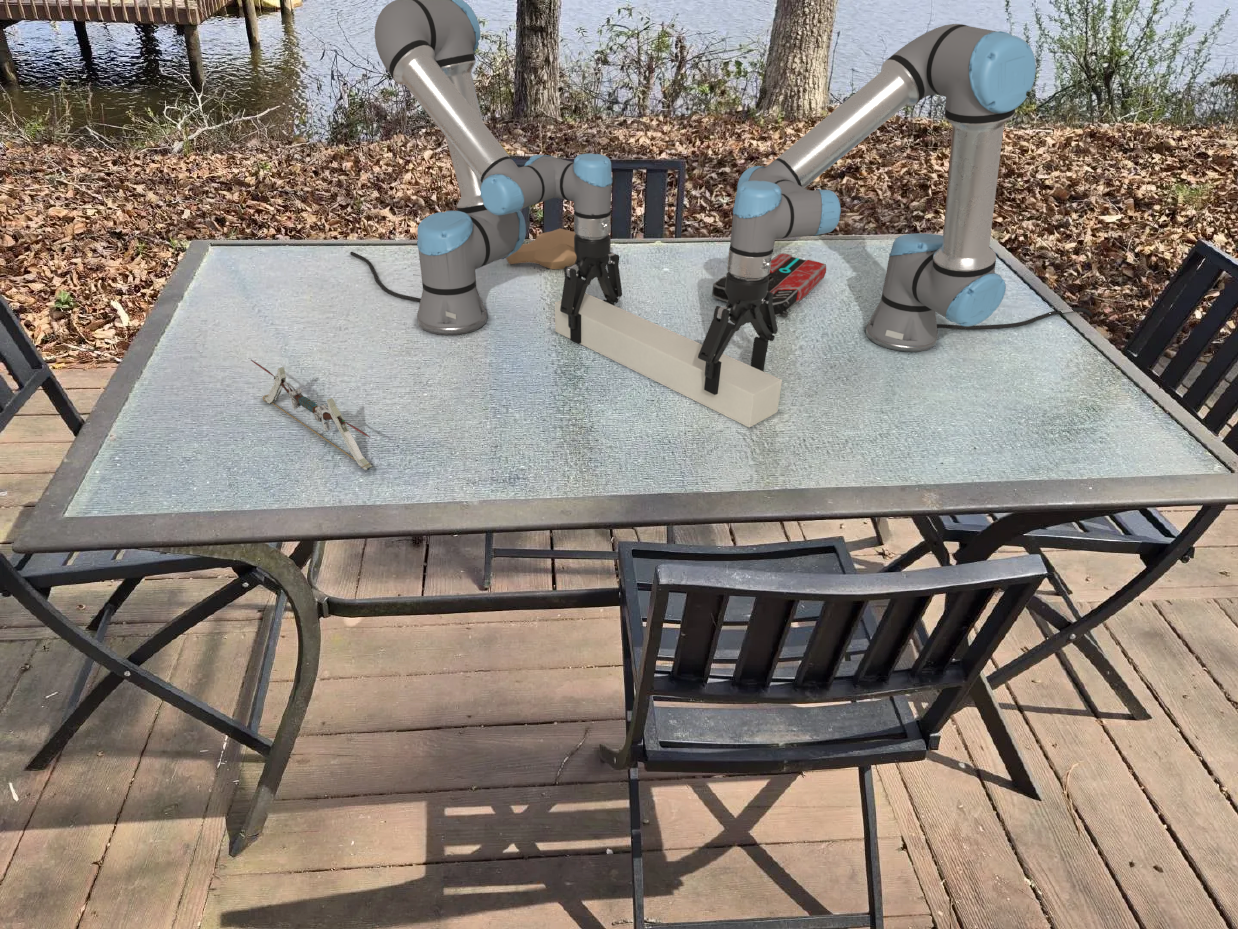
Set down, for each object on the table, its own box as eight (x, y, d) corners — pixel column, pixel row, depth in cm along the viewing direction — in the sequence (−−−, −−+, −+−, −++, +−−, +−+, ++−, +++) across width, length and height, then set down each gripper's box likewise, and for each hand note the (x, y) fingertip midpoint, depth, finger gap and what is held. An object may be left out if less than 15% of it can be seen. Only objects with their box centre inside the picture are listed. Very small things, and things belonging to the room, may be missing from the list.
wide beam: (555, 331, 194) (554, 302, 190) (583, 321, 199) (583, 291, 195) (749, 427, 162) (753, 394, 158) (777, 412, 167) (782, 379, 163)
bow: (382, 473, 146) (374, 421, 141) (372, 477, 145) (364, 425, 140) (264, 393, 168) (253, 345, 162) (255, 396, 167) (243, 348, 161)
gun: (708, 284, 207) (784, 305, 199) (760, 245, 229) (831, 262, 221) (706, 302, 209) (781, 323, 201) (758, 261, 231) (828, 278, 223)
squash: (584, 273, 223) (579, 241, 217) (507, 280, 225) (500, 249, 219) (585, 251, 231) (581, 220, 225) (511, 258, 233) (504, 227, 227)
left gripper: (565, 250, 171) (566, 355, 184) (642, 227, 184) (638, 326, 196) (540, 240, 175) (543, 343, 188) (617, 218, 188) (614, 316, 201)
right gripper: (718, 297, 144) (706, 409, 156) (807, 263, 159) (790, 368, 171) (684, 283, 149) (675, 393, 160) (774, 252, 164) (759, 355, 175)
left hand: (591, 334), depth 192 cm, fingers closed on wide beam, 9 cm apart
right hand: (734, 380), depth 166 cm, fingers open, 13 cm apart
